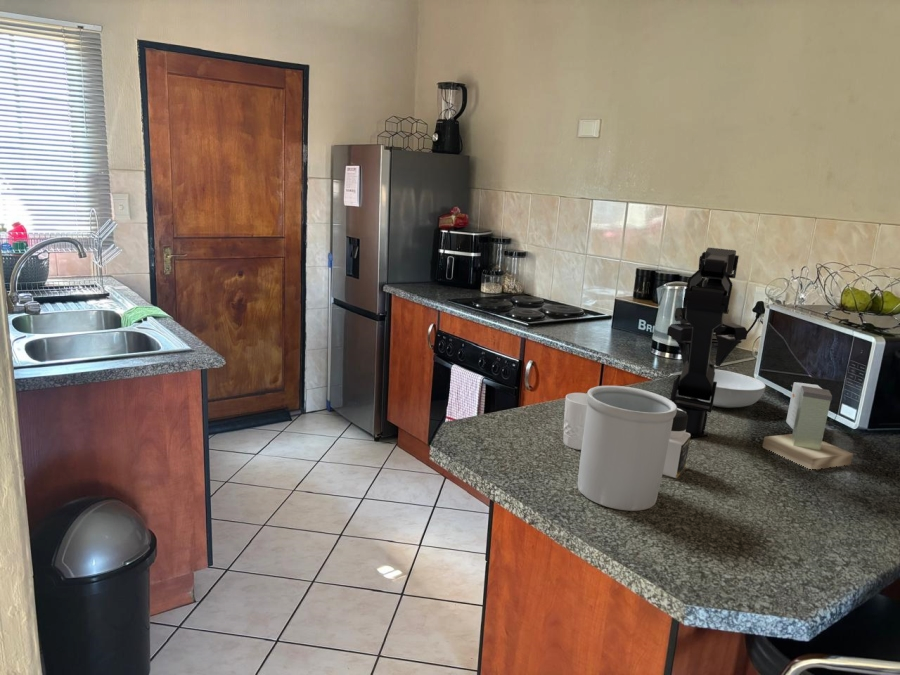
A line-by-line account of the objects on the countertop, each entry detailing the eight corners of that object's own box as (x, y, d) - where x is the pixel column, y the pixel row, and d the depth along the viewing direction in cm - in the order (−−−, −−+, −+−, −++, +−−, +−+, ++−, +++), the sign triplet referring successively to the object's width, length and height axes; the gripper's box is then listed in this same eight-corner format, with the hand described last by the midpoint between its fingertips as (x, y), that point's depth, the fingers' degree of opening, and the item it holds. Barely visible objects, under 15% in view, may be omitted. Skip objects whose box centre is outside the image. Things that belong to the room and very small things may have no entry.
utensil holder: (620, 470, 125) (633, 382, 121) (679, 505, 112) (696, 408, 108) (558, 480, 118) (569, 387, 114) (613, 519, 105) (628, 416, 101)
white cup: (605, 446, 136) (611, 400, 134) (585, 455, 131) (591, 407, 128) (573, 434, 142) (579, 390, 139) (552, 442, 136) (558, 396, 134)
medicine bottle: (676, 479, 123) (687, 418, 120) (639, 468, 126) (648, 409, 124) (685, 467, 129) (695, 409, 126) (649, 457, 132) (658, 400, 130)
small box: (820, 436, 153) (830, 393, 151) (795, 433, 154) (804, 390, 152) (809, 425, 161) (818, 384, 159) (785, 422, 162) (793, 381, 160)
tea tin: (820, 451, 137) (832, 396, 134) (792, 445, 139) (803, 391, 136) (817, 443, 141) (828, 390, 139) (790, 438, 143) (801, 385, 141)
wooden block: (810, 472, 133) (813, 458, 132) (761, 449, 143) (764, 436, 143) (849, 466, 137) (853, 453, 137) (800, 445, 148) (802, 432, 147)
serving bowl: (775, 408, 173) (780, 383, 172) (737, 421, 160) (742, 394, 158) (702, 386, 188) (706, 363, 187) (662, 396, 175) (666, 372, 174)
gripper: (721, 295, 163) (710, 355, 166) (657, 295, 157) (648, 358, 160) (754, 305, 152) (742, 369, 156) (688, 305, 146) (677, 372, 150)
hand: (701, 366), depth 156 cm, fingers open, 9 cm apart
